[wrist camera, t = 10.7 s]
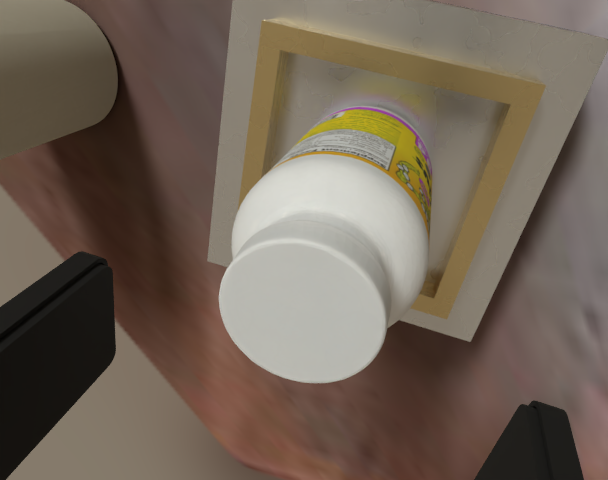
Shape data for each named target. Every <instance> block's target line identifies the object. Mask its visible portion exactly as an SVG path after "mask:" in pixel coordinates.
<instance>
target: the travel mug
mask: <svg viewBox="0 0 608 480" xmlns="http://www.w3.org/2000/svg"><path fill="white" fill-rule="evenodd" d="M117 88H118V75H117V68H116V63H115V59H114V56H113V53H112V50H111V48H110V46H109V43H108V41H107V40H106V38H105V36H104V34H103V33H102V31H101V30H100V28H99V27H98V26H97V25H96V23H95V22H94V21H93V20H92V19H91V18H90V17H89V16H88V15H87V14H86V13H85V12H83V11H82V10H81V9H79V8H78V7H76V6H75V5H73V4H71V3H69V2H67V1H64V0H0V159H3V158H5V157H8V156H11V155H14V154H16V153H19V152H22V151H24V150H27V149H30V148H33V147H35V146H38V145H41V144H44V143H46V142H49V141H52V140H55V139H57V138H60V137H63V136H65V135H68V134H71V133H74V132H76V131H79V130H82V129H85V128H87V127H90V126H93V125H95V124H97V123H99V122H100V121H101V120H103V119H104V118H105V117H106V116H107V115H108V113H109V112H110V110H111V108H112V107H113V104H114V102H115V99H116V95H117Z"/></svg>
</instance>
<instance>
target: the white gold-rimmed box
mask: <svg viewBox="0 0 608 480" xmlns="http://www.w3.org/2000/svg"><path fill="white" fill-rule="evenodd" d="M607 51H608V39H605V38H601V37H597V36H593V35H589V34H586V33H582V32H577V31H572V30H568V29H563V28H558V27H554V26H549V25H544V24H539V23H535V22H530V21H525V20H521V19H516V18H511V17H507V16H502V15H497V14H493V13H488V12H483V11H478V10H474V9H469V8H464V7H460V6H455V5H450V4H446V3H441V2H436V1H431V0H233V3H232V14H231V24H230V34H229V44H228V55H227V65H226V75H225V86H224V96H223V106H222V116H221V127H220V137H219V147H218V158H217V168H216V178H215V188H214V199H213V209H212V219H211V230H210V240H209V250H208V260H207V261H209V262H212V263H216V264H219V265H222V266H225V267H228V266H229V265H230V263H231V262H232V261H233V257H232V231H233V225H234V222H235V218H236V215H237V213H238V210H239V208H240V206H241V204H242V202H243V200H244V199H245V197H246V195H247V194H248V193H249V191H250V190H251V189H252V188H253V187H254V186H255V184H256V183H257V182H258V181H259V180H260V179H261V178H262V177H263V176H264V175H265V174H266V173H267V172H269V171H270V170H271V169H272V168H273V167H274V166H275V165H276V164H277V163H278V162H279V161H280V160H281V159H282V158H283V157H284V156H285V155H286V154H287V153H288V152H289V151H290V150H291V149H292V148H293V146H295V145H296V144H297V142H298V141H299V140H300V139H301V138H302V137H303V136H304V135H306V134H307V133H308V131H309V130H310V129H311V128H312V127H314V126H315V125H316V124H317V123H318V122H320V121H321V120H322V119H324V118H325V117H326V116H328V115H330V114H332V113H334V112H336V111H338V110H341V109H345V108H348V107H354V106H371V107H378V108H382V109H385V110H388V111H391V112H393V113H395V114H397V115H398V116H400V117H402V118H403V119H405V120H406V121H407V122H408V123H409V124H411V125H412V126H413V127H414V129H415V130H416V131H417V132H418V133H419V135H420V136H421V138H422V139H423V141H424V143H425V145H426V147H427V149H428V152H429V155H430V159H431V165H432V201H431V221H430V242H429V261H428V269H427V274H426V278H425V281H424V284H423V287H422V289H421V291H420V293H419V295H418V297H417V299H416V301H415V302H414V303H413V305H412V306H411V308H410V309H409V310H408V311H407V312H406V313H405V314H404V315H403V316H402V317H401V318H400V319H399V320H400V321H404V322H407V323H410V324H413V325H417V326H420V327H423V328H426V329H430V330H433V331H436V332H439V333H443V334H446V335H449V336H452V337H455V338H459V339H462V340H465V341H468V342H471V340H472V338H473V336H474V334H475V332H476V329H477V327H478V325H479V323H480V321H481V319H482V317H483V315H484V312H485V310H486V308H487V306H488V304H489V302H490V300H491V297H492V295H493V293H494V291H495V289H496V287H497V285H498V283H499V280H500V278H501V276H502V274H503V272H504V270H505V268H506V266H507V263H508V261H509V259H510V257H511V255H512V253H513V251H514V249H515V246H516V244H517V242H518V240H519V238H520V236H521V234H522V232H523V229H524V227H525V225H526V223H527V221H528V219H529V217H530V214H531V212H532V210H533V208H534V206H535V204H536V202H537V200H538V197H539V195H540V193H541V191H542V189H543V187H544V185H545V183H546V180H547V178H548V176H549V174H550V172H551V170H552V168H553V166H554V163H555V161H556V159H557V157H558V155H559V153H560V151H561V148H562V146H563V144H564V142H565V140H566V138H567V136H568V134H569V131H570V129H571V127H572V125H573V123H574V121H575V119H576V117H577V114H578V112H579V110H580V108H581V106H582V104H583V102H584V100H585V97H586V95H587V93H588V91H589V89H590V87H591V85H592V82H593V80H594V78H595V76H596V74H597V72H598V70H599V68H600V65H601V63H602V61H603V59H604V57H605V55H606V53H607Z"/></svg>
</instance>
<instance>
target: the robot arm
mask: <svg viewBox="0 0 608 480" xmlns="http://www.w3.org/2000/svg"><path fill="white" fill-rule="evenodd" d="M115 351H116V345H115V320H114V296H113V272H112V269H111V268H110V267H108V263H107V261H106V259H104V258H101V257H98V256H95V255H92V254H89V253H86V252H78V253H76V254H74V255H73V256H71V257H70V258H69V259H67V260H66V261H64V262H63V263H62V264H60V265H59V266H57V267H56V268H55V269H53V270H52V271H50V272H49V273H48V274H46V275H45V276H43V277H42V278H41V279H39V280H38V281H36V282H35V283H33V284H32V285H31V286H29V287H28V288H26V289H25V290H24V291H22V292H21V293H20V294H18V295H17V296H15V297H14V298H12V299H11V300H10V301H8V302H7V303H5V304H4V305H3V306H1V307H0V480H6V479H7V477H8V476H9V475H10V474H11V473H12V472H13V471H14V470H15V469H16V468H17V467H18V465H19V464H20V463H21V462H22V461H23V460H24V459H25V458H26V457H27V456H28V454H29V453H30V452H31V451H32V450H33V449H34V448H35V447H36V446H37V445H38V443H39V442H40V441H41V440H42V439H43V438H44V437H45V436H46V435H47V433H48V432H49V431H50V430H51V429H52V428H53V427H54V426H55V424H57V422H58V421H59V420H60V419H61V418H62V417H63V416H64V415H65V414H66V413H67V411H68V410H69V409H70V408H71V407H72V406H73V405H74V404H75V403H76V402H77V400H78V399H79V398H80V397H81V396H82V395H83V394H84V393H85V392H86V390H87V389H88V388H89V387H90V386H91V385H92V384H93V383H94V382H95V381H96V379H97V378H98V377H99V376H100V375H101V374H102V373H103V372H104V371H105V369H106V368H107V367H108V366H109V365H110V363H111V362H112V360H113V358H114V356H115ZM474 480H584V478H583V474H582V470H581V466H580V462H579V459H578V455H577V451H576V447H575V443H574V439H573V435H572V431H571V427H570V423H569V420H568V416H567V414H566V412H565V411H564V410H562V409H559V408H556V407H553V406H550V405H547V404H544V403H541V402H538V401H532V402H531V403H530V404H529V405H528V406H527V405H524V404H521V405H520V406H519V407H518V409H517V410H516V412H515V414H514V415H513V417H512V419H511V420H510V422H509V423H508V425H507V427H506V428H505V430H504V432H503V433H502V435H501V437H500V438H499V440H498V441H497V443H496V445H495V446H494V448H493V450H492V451H491V453H490V455H489V456H488V458H487V460H486V461H485V463H484V464H483V466H482V468H481V469H480V471H479V473H478V474H477V476H476V478H475V479H474Z"/></svg>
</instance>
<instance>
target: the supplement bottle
mask: <svg viewBox="0 0 608 480" xmlns="http://www.w3.org/2000/svg"><path fill="white" fill-rule="evenodd" d="M431 201H432V165H431V159H430V155H429V152H428V149H427V147H426V145H425V143H424V141H423V139H422V138H421V136H420V135H419V133H418V132H417V131H416V130H415V129H414V127H413V126H412V125H411V124H409V123H408V122H407V121H406V120H405V119H403V118H402V117H400V116H398V115H397V114H395V113H393V112H391V111H388V110H385V109H382V108H378V107H371V106H354V107H348V108H345V109H341V110H338V111H336V112H334V113H332V114H330V115H328V116H326V117H325V118H324V119H322V120H321V121H320V122H318V123H317V124H316V125H315V126H314V127H312V128H311V129H310V130H309V131H308V133H307V134H306V135H304V136H303V137H302V138H301V139H300V140H299V141H298V142H297V144H296V145H295V146H293V148H292V149H291V150H290V151H289V152H288V153H287V154H286V155H285V156H284V157H283V158H282V159H281V160H280V161H279V162H278V163H277V164H276V165H275V166H274V167H273V168H272V169H271V170H270V171H269V172H267V173H266V174H265V175H264V176H263V177H262V178H261V179H260V180H259V181H258V182H257V183H256V184H255V186H254V187H253V188H252V189H251V190H250V191H249V193H248V194H247V195H246V197H245V199H244V200H243V202H242V204H241V206H240V208H239V210H238V213H237V215H236V218H235V222H234V225H233V231H232V257H233V261H232V262H231V263H230V265H229V266H228V268H227V270H226V272H225V274H224V277H223V279H222V282H221V286H220V292H219V305H220V312H221V316H222V320H223V323H224V325H225V327H226V330H227V332H228V333H229V335H230V337H231V338H232V340H233V341H234V343H235V344H236V345H237V346H238V347H239V349H240V350H241V351H242V352H243V353H244V354H245V355H246V356H247V357H248V358H249V359H250V360H252V361H253V362H254V363H256V364H257V365H259V366H260V367H262V368H264V369H265V370H267V371H269V372H271V373H273V374H275V375H278V376H280V377H283V378H286V379H290V380H294V381H298V382H305V383H329V382H335V381H339V380H343V379H346V378H348V377H351V376H353V375H355V374H357V373H358V372H360V371H361V370H363V369H364V368H365V367H367V366H368V365H369V364H370V363H371V362H372V361H373V360H374V358H375V357H376V356H377V354H378V353H379V351H380V349H381V347H382V345H383V343H384V340H385V336H386V332H387V328H389V327H390V326H391V325H393V324H394V323H395V322H397V321H398V320H399V319H400V318H401V317H402V316H403V315H404V314H405V313H406V312H407V311H408V310H409V309H410V308H411V306H412V305H413V303H414V302H415V301H416V299H417V297H418V295H419V293H420V291H421V289H422V287H423V284H424V281H425V278H426V274H427V269H428V261H429V242H430V221H431Z"/></svg>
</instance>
